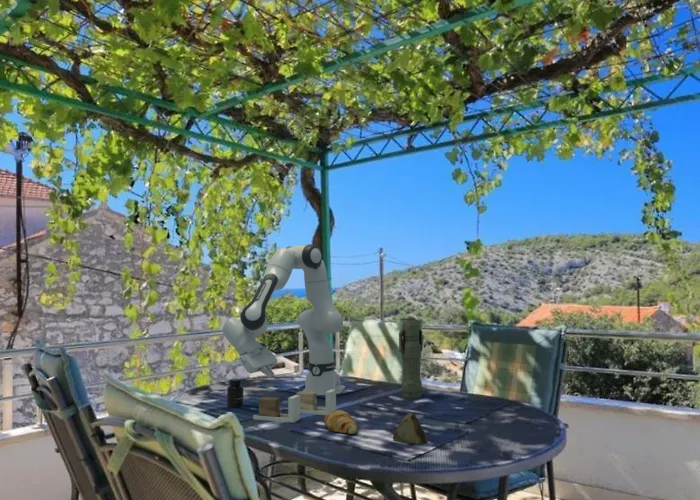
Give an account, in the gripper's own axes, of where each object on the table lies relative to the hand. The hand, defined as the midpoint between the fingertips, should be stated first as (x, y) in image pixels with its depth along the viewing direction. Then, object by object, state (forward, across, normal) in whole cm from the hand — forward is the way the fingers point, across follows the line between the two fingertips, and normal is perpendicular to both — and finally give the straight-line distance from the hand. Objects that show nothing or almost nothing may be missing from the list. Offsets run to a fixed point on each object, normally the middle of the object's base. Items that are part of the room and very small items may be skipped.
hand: (271, 376), depth 236 cm
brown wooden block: (+14, -14, +5) cm, 20 cm away
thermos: (+43, +44, -23) cm, 66 cm away
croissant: (+36, -17, -15) cm, 43 cm away
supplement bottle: (-2, +1, +23) cm, 23 cm away
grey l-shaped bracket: (+17, -14, +4) cm, 22 cm away
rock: (+56, -24, -35) cm, 70 cm away
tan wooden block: (+20, 0, -1) cm, 20 cm away
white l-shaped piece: (+23, 0, -3) cm, 23 cm away
